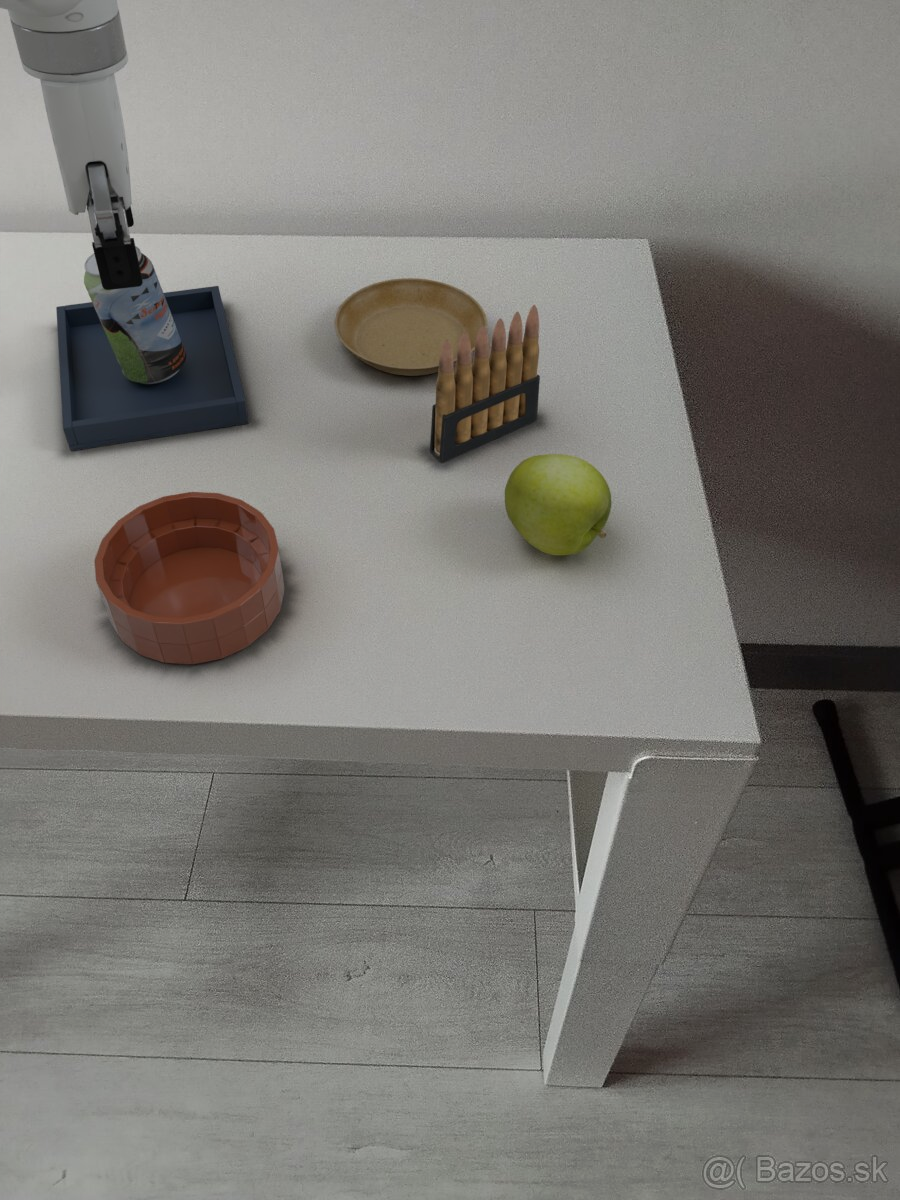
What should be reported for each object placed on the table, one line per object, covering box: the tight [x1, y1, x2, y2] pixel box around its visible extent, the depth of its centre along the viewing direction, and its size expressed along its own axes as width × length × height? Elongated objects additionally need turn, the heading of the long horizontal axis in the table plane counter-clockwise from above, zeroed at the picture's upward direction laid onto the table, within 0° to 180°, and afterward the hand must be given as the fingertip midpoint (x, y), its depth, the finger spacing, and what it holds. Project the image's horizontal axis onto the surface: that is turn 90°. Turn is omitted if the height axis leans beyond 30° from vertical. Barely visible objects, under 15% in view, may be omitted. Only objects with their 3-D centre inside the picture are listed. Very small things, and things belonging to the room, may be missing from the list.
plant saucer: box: [333, 277, 488, 377], centre depth 101 cm, size 15×15×3 cm
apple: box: [504, 453, 612, 556], centre depth 82 cm, size 8×9×8 cm
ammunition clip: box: [429, 304, 541, 464], centre depth 89 cm, size 11×2×12 cm, turn 125°
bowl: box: [93, 491, 286, 665], centre depth 78 cm, size 13×13×5 cm
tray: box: [55, 285, 249, 452], centre depth 97 cm, size 16×19×3 cm
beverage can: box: [83, 245, 186, 384], centre depth 93 cm, size 6×7×12 cm
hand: (119, 255), depth 88 cm, fingers open, 9 cm apart
